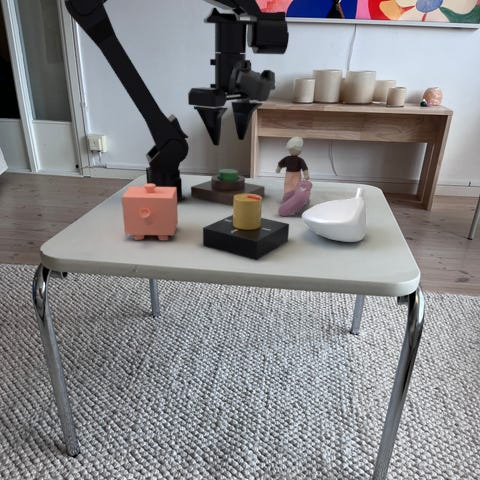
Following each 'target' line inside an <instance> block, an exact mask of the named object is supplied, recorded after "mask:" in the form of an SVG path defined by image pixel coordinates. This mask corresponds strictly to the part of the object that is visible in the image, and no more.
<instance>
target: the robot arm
mask: <svg viewBox="0 0 480 480" xmlns="http://www.w3.org/2000/svg"><path fill="white" fill-rule="evenodd" d="M63 1H64V6H65V9H66V11H67V13H68V14H69V15H70V17H71V18H72V19H73V20H74V21H75V22H76V23H77V25H78V26H79V27H80V28H81V30H82V31H83V32H85V34H86V35H87V37H89V39H90V40H91V41H92V42H93V43H94V44H95V45H96V46H97V48H98V49H99V50H100V52H101V53H102V55H103V57H104V58H105V60H106V61H107V63H108V64H109V66H110V68H111V69H112V72H114V74H115V76H116V77H117V78H118V80H119V82H120V83H121V85H122V87H123V88H124V90H125V91H126V93H127V95H128V96H129V97H130V99H131V101H132V102H133V104H134V105H135V107H136V109H137V110H138V112H139V113H140V115H141V117H142V118H143V120H144V122H145V125H146V126H147V129H148V131H149V134H150V136H151V139H152V141H153V143H154V145H153V146H152V147H151V148H150V149H149V151H148V152H147V153H146V154H145V158H146V161H147V163H148V165H149V166H148V167H145V174H146V176H145V177H146V184H155V185H156V186H155V187H176V188H177V202H181V201H183V200H186V198H187V197H186V195H184V194H183V186H182V185H183V182H182V181H183V180H182V177H181V171H180V170H181V169H179V168H180V165H181V163H182V162H183V161H185V160H186V158H187V156H188V153H189V150H190V149H189V148H190V146H189V143H188V141H187V140H186V139H189V136H188V134H186V133H185V132H186V131H184V130H183V129H182V127H181V124H180V121H179V119H178V118H177V116H176V115H174V114H173V113H172V114H170V115H169V116H168V117H167V116H166V114H165V113H164V112H163V110H162V109H161V108H160V106H159V105H158V102H157V101H156V99H155V98H154V96H153V94H152V92H151V91H150V89H149V88H148V86H147V85H146V83H145V81H144V80H143V78H142V76H141V75H140V72H139V71H138V70H137V68H136V66H135V64H134V63H133V62H132V60H131V58H130V56H129V55H128V53H127V52H126V49H125V48H124V46H123V45H122V43H121V42H120V40H119V39H118V36H117V34H116V32H115V28H114V27H113V25H112V22H111V20H110V17H109V15H108V12H107V10H106V8H105V5H104V4H106V3H107V2H108V0H63ZM202 1H203V2H205V3H207V4H209V5H212V6H214V7H211V9H210V12H209V13H208V14H207V15H206V16H205V17H204V18H203V23H204V24H212V25H213V24H214V58H210V59H209V62H210V63H209V65H210V66H214V83H210V84H209V87H205V86H201V87H200V86H199V87H191V88H190V89H189V91H188V92H187V103H188V105H189V106H193V110H195V111H197V113H198V115H199V117H200V119H201V121H202V123H203V125H204V127H205V129H206V131H207V133H208V136H209V138H210V140H211V142H212V145H213V146H216V147H219V145H220V143H221V142H220V141H221V131H222V119H223V116H224V114H225V113H226V112H227V110H228V108H229V107H225V105H226V103H227V101H231V108H232V113H233V121H234V125H235V130H236V135H237V139H238V140H239V141H244V140H245V137H246V134H247V131H248V127H249V125H250V123H251V122H250V121H251V119H252V116H253V113H255V111H256V110H257V109H258V108H259V107H261V106H262V105H263V102H267V100H269V97H270V94H271V91H275V90H276V73H275V72H274V71H272V70H271V69H263V71H261V72H259V71H254V70H252V62H251V59H247V47H248V48H251V50H252V53H253V54H254V55H280V56H281V55H282V56H283V55H285V53H286V52H287V49H288V46H289V41H290V40H289V39H290V32H289V27H288V23H287V22H288V21H287V19H286V18H287V17H286V16H287V12H285V11H274V12H270V11H262V8H260V6H259V4H258V2H257V0H202ZM217 8H219V9H221V10H224V11H232V13H229V12H220V11H219V10H218V9H217ZM237 17H239V18H246V19H248V18H249V20H239V19H238V18H237Z"/></svg>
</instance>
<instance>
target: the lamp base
mask: <svg viewBox="0 0 480 480" xmlns="http://www.w3.org/2000/svg"><path fill="white" fill-rule="evenodd" d="M265 188H266V187H265V185H259V184H255V183H249V182H246V177H245V176H243V175H241V174H238V179H237V180H232V181H228V180H220V179H219V174H214V175H212V176H211V178H210V180H208V181H205V182H201V183H198V184H195V185H192V186H190V197H191V198H195V199H199V200H204V201H209V202H214V203H219V204H223V205H227V206H232V207H233V203H234V196H235V195H238V194H256V195H259V196H261V197H262V198H264V197H265V190H266V189H265Z"/></svg>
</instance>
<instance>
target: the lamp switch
mask: <svg viewBox="0 0 480 480" xmlns="http://www.w3.org/2000/svg"><path fill="white" fill-rule="evenodd" d="M218 175H219V179H220V180H228V181H232V180H237V179H238V175H239V171H238V170H237V169H233V168H222V169H219V170H218Z"/></svg>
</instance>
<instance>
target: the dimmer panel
mask: <svg viewBox="0 0 480 480" xmlns="http://www.w3.org/2000/svg"><path fill="white" fill-rule="evenodd" d="M289 230H290V223H286V222H283V221H277V220H273V219H270V218H269V219H268V218H265V217H261V226H260V227H259V228H257V229H252V230H244V229H238V228H236V227H234V226H233V214H231V215H229V216H227V217H225V218H222V219H219V220H217V221H215V222H212V223H211V224H208V225H205V226H203V227H202V246H204V247H207V248H211V249H215V250H217V251H218V250H219V251H222V252H225V253H229V254H233V255H237V256H240V257H243V258H248V259H251V260H256V261H257V260H259V259H262V257H264V256H266V255H267V254H269V253H270V252H272V251H274V250H275V249H277V248H279V247H281V246H282V245H284V244H285V243H288V242H289Z"/></svg>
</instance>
